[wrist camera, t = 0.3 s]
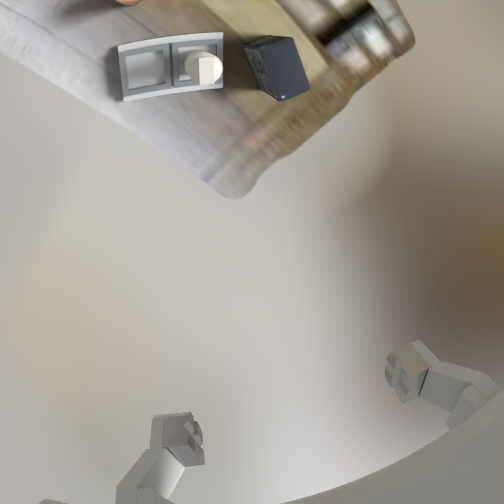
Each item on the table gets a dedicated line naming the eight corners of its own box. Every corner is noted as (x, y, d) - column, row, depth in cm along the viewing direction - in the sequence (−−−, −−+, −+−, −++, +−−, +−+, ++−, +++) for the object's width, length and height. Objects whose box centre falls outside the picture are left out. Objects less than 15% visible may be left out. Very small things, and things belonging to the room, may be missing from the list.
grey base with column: (125, 99, 43) (113, 123, 33) (119, 45, 35) (103, 50, 25) (221, 85, 46) (239, 104, 37) (220, 32, 39) (240, 32, 29)
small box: (289, 79, 49) (313, 91, 42) (260, 91, 49) (279, 104, 42) (271, 33, 41) (294, 36, 34) (240, 45, 41) (256, 49, 34)
